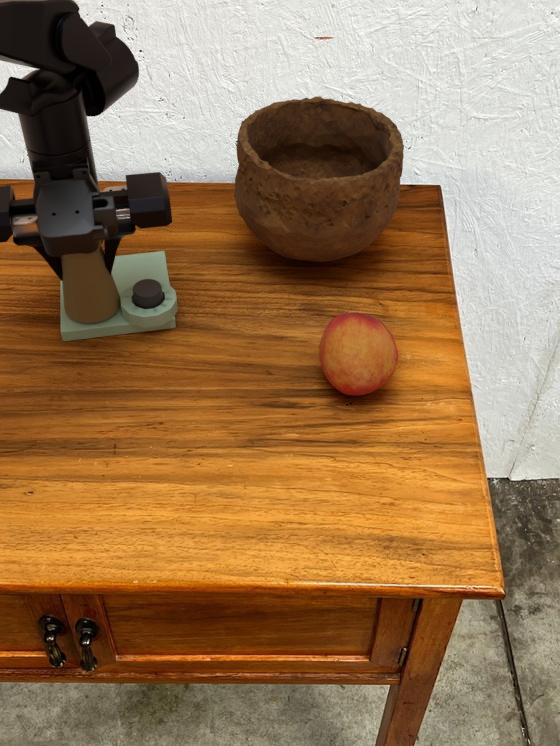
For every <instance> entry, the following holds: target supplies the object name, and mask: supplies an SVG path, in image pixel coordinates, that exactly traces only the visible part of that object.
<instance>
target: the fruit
mask: <svg viewBox="0 0 560 746" xmlns="http://www.w3.org/2000/svg"><path fill="white" fill-rule="evenodd" d="M318 358H319V364H320V367H321V370H322V372H323V374H324V376H325V378H326V379H327V381H328V382H329V383H330V384H331V385H332V386H333V387H334V388H335V389H336V390H337V391H339V392H340V393H342V394H344V395H347V396H364V395H367V394H370V393H372V392H374V391H376V390H377V389H379V388H381V387H382V386H383V385H384V384H386V383H387V382H388V381H389V380H390V379H391V377H392V376H393V374H394V373H395V370H396V369H397V365H398V361H399V350H398V346H397V343H396V341H395V338H394V335H393V334H392V333H391V331H390V329H389V328H388V327H387V326H386V324H384V323H383V321H381V320H379V319H378V318H375V317H374V316H372V315H367V314H364V313H360V312H343V313H341V314H339V315H336V316H335V317H333V318H332V319H331V320H330V321H329V322H328V324H327V325H326V326H325V328H324V330H323V333H322V336H321V338H320V341H319V345H318Z"/></svg>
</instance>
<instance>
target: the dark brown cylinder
mask: <svg viewBox="0 0 560 746" xmlns="http://www.w3.org/2000/svg"><path fill="white" fill-rule="evenodd" d="M133 295H134V301H135V304H136V305H137V306H138V307H139V308H142V309H152V308H156V307H157V306H159V305H160V304H161V303H162V301H163V296H162V288H161V284H160V283H159V282H158V281H156V280H153V279H143V280H140V281H138V282H137V283H135V285H134V286H133Z"/></svg>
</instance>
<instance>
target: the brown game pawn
mask: <svg viewBox="0 0 560 746" xmlns="http://www.w3.org/2000/svg"><path fill="white" fill-rule="evenodd" d="M103 244H104V240H99V247H98V249H97V250H96V251H95V252H93V253H89V254H83V253H78V254H68V255H63V256H61V257H60V260H61V266H62V271H63V281H62V285H63V297H64V309H65V312H66V314H67V315H68V316H69V317H70V318H71V319H73V320H76V321H78V322H84V323H93V322H99V321H102V320H105V319H107V318H109V317H111V316H113V315H114V314H115V313H116V312H117V311H118V309H119V307H120V305H121V301H120V295H119V292H118V290H117V287H116V284H115V282H114V279H113V276H112V273H111V275H110V274H109V272H108V270H107V268H106V266H105V254H104V248H103V246H102V245H103Z"/></svg>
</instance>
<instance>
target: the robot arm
mask: <svg viewBox="0 0 560 746" xmlns="http://www.w3.org/2000/svg"><path fill="white" fill-rule="evenodd" d="M0 61H1V62H4V63H5V62H6V63H10V64H15V65H18V66H24V67H27V68H32V69H34V70H31V71H30V72H29V73H27V74H26V75H25V76H23V77H22V78H20V77H15V76H9V78H7V79H8V80H7V83H6V85H5V87H4V89H3V90H1V92H0V110H2V111H5V112H10V113H14V114H17V116H18V120H19V124H20V129H21V133H22V136H23V140H24V144H25V149H26V153H27V157H28V162H29V165H30V169H31V174H32V177H33V181H34V185H33V191H32V197H31V198H22V199H17V198H16V195H15V190H14V187H13V186H12V185H1V186H0V244H1V243H8V241H10V239H11V238H12V242H13V244H14V245H15V246H18V247H30V248H32V249H34V250H35V251H36V252H37V253H38V254H39V255H40V256H41V257H42V258H43V259H44V261H45V262H46V264H48V266H49V267H50V268H51V270H52V271H53V272H54V274H55V275H56V276H57V277H58V279H59V281H60V280H61V281H63V271H62V266H61V260H60V257H61V256H63V255H68V254H78V253H83V254H89V253H93V252H95V251H96V250H97V249H98V247H99V240H103V251H104V254H105V266H106V268H107V270H108V272H109V274H110V275H111V273H112V269H113V264H114V260H115V256H117V252H118V248H119V245H120V243H121V241H122V239H123V238H124V237H126V236H130V235H131V236H132V235H134V234H135V233H136V230H137V228H139V229H140V230H141V229H151V228H162V227H168V226H170V224H172V223H173V215H172V206H171V198H170V193H169V186H168V181H167V177H166V176H165V175H163V174H162V173H161V171H156V172H144V173H133V174H125V184H123V185H122V184H121V185H113V186H107V187H105V188H104V189H102V190H100V185H99V180H98V173H97V167H96V162H95V157H94V151H93V145H92V140H91V133H90V128H89V123H88V117H97V116H100V115H102V114H103V113H104V112H105V111H106V110H108V109H109V108H110V107H111V106H113V104H115V103H116V102H117V101H119V100H120V99H121V98H122V97H123V96H124V95H126V94H127V93H129V91H131V90H132V89H133V88H135V86H136V84H137V83H138V81H139V77H140V65H139V62H138V61H137V60H136V58H135V55H134V53H133V52H132V50H131V48H130V47H129V46H128V45H127V43H125V41H123V40H122V39H121V38H119V37H117V31H116V26H115V24H113V23H109V22H104V21H100V20H99V21H98V20H95V21H94V22H92V23H90V25H88V24H87V23H86V21H85V20H84V19H83V18H82V16H81V14H80V6H79V4H78V3H77V2H76V1H75V0H0Z"/></svg>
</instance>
